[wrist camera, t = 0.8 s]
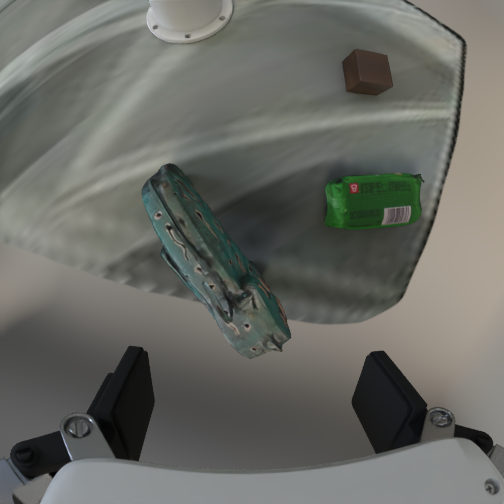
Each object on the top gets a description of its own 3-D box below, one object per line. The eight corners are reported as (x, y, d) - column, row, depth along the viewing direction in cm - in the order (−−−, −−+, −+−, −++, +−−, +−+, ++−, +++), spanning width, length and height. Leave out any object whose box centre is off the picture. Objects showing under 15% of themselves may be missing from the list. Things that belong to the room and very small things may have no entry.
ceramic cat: (275, 281, 39) (312, 366, 20) (237, 306, 40) (242, 405, 20) (189, 160, 35) (142, 133, 15) (150, 190, 35) (71, 198, 16)
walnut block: (342, 61, 32) (354, 48, 28) (372, 66, 33) (387, 55, 28) (346, 91, 34) (360, 81, 29) (376, 95, 34) (393, 86, 29)
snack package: (413, 219, 39) (433, 224, 33) (320, 228, 38) (333, 235, 33) (411, 173, 37) (431, 173, 32) (316, 176, 36) (329, 174, 31)
